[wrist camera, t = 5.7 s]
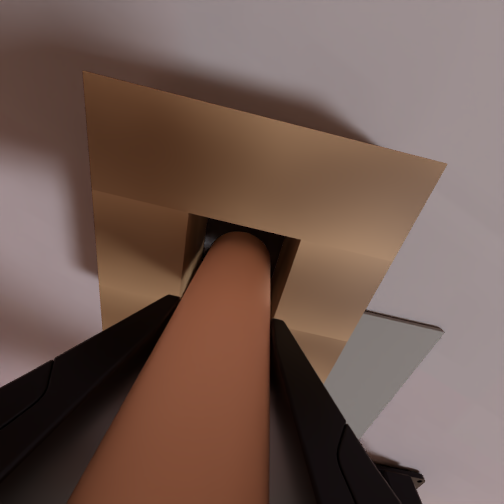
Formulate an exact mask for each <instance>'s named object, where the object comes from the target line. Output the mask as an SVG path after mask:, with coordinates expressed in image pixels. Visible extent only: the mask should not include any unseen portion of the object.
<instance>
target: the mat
mask: <svg viewBox="0 0 504 504" xmlns="http://www.w3.org/2000/svg"><path fill="white" fill-rule="evenodd" d="M444 333H445V332H444V331H443V330H442V329H439V328H435V327H431V326H426V325H422V324H418V323H413V322H409V321H405V320H400V319H396V318H392V317H388V316H383V315H379V314H375V313H370V312H366V311H364V313H363V315H362V317H361V318H360V320H359V322H358V324H357V326H356V327H355V329H354V331H353V333H352V334H351V336H350V338H349V340H348V341H347V343H346V345H345V347H344V349H343V350H342V352H341V354H340V356H339V357H338V359H337V361H336V363H335V365H334V366H333V368H332V370H331V372H330V373H329V375H328V377H327V379H326V381H325V382H324V386H325V387H326V389H327V391H328V392H329V394H330V395H331V397H332V399H333V400H334V402H335V403H336V405H337V407H338V408H339V410H340V411H341V413H342V415H343V416H344V418H345V420H346V424H349V426H350V427H351V429H352V430H353V432H354V434H355V435H356V437H357V438H358V440H359V439H360V438H361V437H362V435H363V434H364V433H365V432H366V430H367V429H368V428H369V427H370V425H371V424H372V423H373V422H374V420H375V419H376V418H377V417H378V415H379V414H380V413H381V412H382V410H383V409H384V408H385V407H386V405H387V404H388V403H389V402H390V400H391V399H392V398H393V397H394V395H395V394H396V393H397V392H398V390H399V389H400V388H401V387H402V385H403V384H404V383H405V382H406V380H407V379H408V378H409V377H410V375H411V374H412V373H413V372H414V370H415V369H416V368H417V367H418V365H419V364H420V363H421V362H422V360H423V359H424V358H425V357H426V355H427V354H428V353H429V352H430V350H431V349H432V348H433V347H434V345H435V344H436V343H437V342H438V340H439V339H440V338H441V337H442V335H443V334H444Z"/></svg>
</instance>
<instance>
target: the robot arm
mask: <svg viewBox="0 0 504 504" xmlns="http://www.w3.org/2000/svg"><path fill="white" fill-rule="evenodd" d="M180 301H181V298H180V297H179V296H175V295H170V294H168V295H166V296H164V297H162V298H160V299H159V300H157V301H155V302H153V303H152V304H150V305H148V306H146V307H144V308H143V309H141V310H139V311H137V312H136V313H134V314H132V315H130V316H128V317H127V318H125V319H123V320H121V321H120V322H118V323H116V324H114V325H112V326H111V327H109V328H107V329H105V330H104V331H102V332H100V333H98V334H96V335H95V336H93V337H91V338H89V339H88V340H86V341H84V342H82V343H80V344H79V345H77V346H75V347H73V348H71V349H70V350H68V351H66V352H64V353H63V354H61V355H59V356H57V357H55V359H54V361H53V360H50V361H48V362H46V363H45V364H43V365H41V366H39V367H37V368H36V369H34V370H32V371H30V372H28V373H27V374H25V375H23V376H21V377H19V378H17V379H15V380H14V381H12V382H10V383H8V384H6V385H4V386H2V387H0V504H66V503H67V501H68V500H69V498H70V496H71V494H72V492H73V491H74V489H75V487H76V485H77V484H78V482H79V480H80V478H81V476H82V475H83V473H84V471H85V469H86V468H87V466H88V464H89V462H90V460H91V459H92V457H93V455H94V453H95V452H96V450H97V448H98V446H99V445H100V443H101V441H102V439H103V437H104V436H105V434H106V432H107V430H108V429H109V427H110V425H111V423H112V421H113V420H114V418H115V416H116V414H117V413H118V411H119V409H120V407H121V405H122V404H123V402H124V400H125V398H126V397H127V395H128V393H129V391H130V389H131V388H132V386H133V384H134V382H135V381H136V379H137V377H138V375H139V373H140V372H141V370H142V368H143V366H144V365H145V363H146V361H147V359H148V357H149V356H150V354H151V352H152V350H153V349H154V347H155V345H156V343H157V341H158V340H159V338H160V336H161V334H162V333H163V331H164V329H165V327H166V325H167V324H168V322H169V320H170V318H171V317H172V315H173V313H174V311H175V309H176V308H177V306H178V304H179V302H180ZM424 482H425V479H424V477H423V475H422V474H419V473H414V472H409V471H404V470H400V469H395V468H390V467H385V466H381V465H376V464H374V463H373V462H372V460H371V459H370V457H369V455H368V454H367V452H366V451H365V449H364V448H363V446H362V445H361V443H360V442H359V440H358V438H357V437H356V435H355V434H354V432H353V430H352V429H351V427H350V426H349V424H346V420H345V418H344V416H343V415H342V413H341V411H340V410H339V408H338V407H337V405H336V403H335V402H334V400H333V399H332V397H331V395H330V394H329V392H328V391H327V389H326V387H325V386H324V384H323V383H322V381H321V379H320V378H319V376H318V375H317V373H316V371H315V370H314V368H313V367H312V365H311V363H310V362H309V360H308V359H307V357H306V355H305V354H304V352H303V351H302V349H301V347H300V346H299V344H298V343H297V341H296V339H295V338H294V336H293V335H292V333H291V331H290V330H289V328H288V327H287V325H286V323H285V322H284V321H283V320H280V319H276V318H272V319H271V320H270V452H269V504H422V502H421V499H420V497H419V495H418V492H417V490H416V489H417V488H418V487H420V486H421V485H422V484H423V483H424Z"/></svg>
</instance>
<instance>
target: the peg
mask: <svg viewBox="0 0 504 504" xmlns="http://www.w3.org/2000/svg"><path fill="white" fill-rule="evenodd" d="M269 452H270V254H269V251H268V249H267V247H266V246H265V244H264V243H263V242H262V241H261V240H260V239H259V238H257V237H256V236H254V235H252V234H249V233H246V232H239V231H236V232H229V233H226V234H224V235H222V236H220V237H219V238H217V239H216V240H215V241H214V243H213V244H212V246H211V247H210V249H209V251H208V253H207V254H206V256H205V258H204V260H203V262H202V263H201V265H200V267H199V269H198V270H197V272H196V274H195V276H194V278H193V279H192V281H191V283H190V285H189V286H188V288H187V290H186V292H185V293H184V295H183V297H182V299H181V301H180V302H179V304H178V306H177V308H176V309H175V311H174V313H173V315H172V317H171V318H170V320H169V322H168V324H167V325H166V327H165V329H164V331H163V333H162V334H161V336H160V338H159V340H158V341H157V343H156V345H155V347H154V349H153V350H152V352H151V354H150V356H149V357H148V359H147V361H146V363H145V365H144V366H143V368H142V370H141V372H140V373H139V375H138V377H137V379H136V381H135V382H134V384H133V386H132V388H131V389H130V391H129V393H128V395H127V397H126V398H125V400H124V402H123V404H122V405H121V407H120V409H119V411H118V413H117V414H116V416H115V418H114V420H113V421H112V423H111V425H110V427H109V429H108V430H107V432H106V434H105V436H104V437H103V439H102V441H101V443H100V445H99V446H98V448H97V450H96V452H95V453H94V455H93V457H92V459H91V460H90V462H89V464H88V466H87V468H86V469H85V471H84V473H83V475H82V476H81V478H80V480H79V482H78V484H77V485H76V487H75V489H74V491H73V492H72V494H71V496H70V498H69V500H68V501H67V503H66V504H269Z"/></svg>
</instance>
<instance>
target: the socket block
mask: <svg viewBox="0 0 504 504" xmlns="http://www.w3.org/2000/svg"><path fill="white" fill-rule="evenodd" d="M82 71H83V70H82ZM83 84H84V97H85V110H86V123H87V136H88V148H89V161H90V174H91V187H92V200H93V213H94V226H95V239H96V252H97V264H98V277H99V290H100V303H101V316H102V329H103V331H104V330H105V329H107V328H109V327H111V326H112V325H114V324H116V323H118V322H120V321H121V320H123V319H125V318H127V317H128V316H130V315H132V314H134V313H136V312H137V311H139V310H141V309H143V308H144V307H146V306H148V305H150V304H152V303H153V302H155V301H157V300H159V299H160V298H162V297H164V296H166V295H168V294H170V295H175V296H179V297H180V298H181V299H182V297H183V295H184V293H185V292H186V290H187V288H188V286H189V285H190V283H191V281H192V279H193V278H194V276H195V274H196V272H197V270H198V269H199V267H200V265H201V261H202V255H203V248H204V241H205V234H206V228H207V221H208V218H212V219H217V220H221V221H225V222H229V223H233V224H238V225H242V226H246V227H250V228H254V229H258V230H263V231H267V232H271V233H275V234H279V235H283V236H285V238H284V241H283V244H282V247H281V251H280V254H279V257H278V260H277V263H276V267H275V270H274V273H273V276H272V279H270V320H271V319H272V318H276V319H280V320H283V321H284V322H285V323H286V325H287V327H288V328H289V330H290V331H291V333H292V335H293V336H294V338H295V339H296V341H297V343H298V344H299V346H300V347H301V349H302V351H303V352H304V354H305V355H306V357H307V359H308V360H309V362H310V363H311V365H312V367H313V368H314V370H315V371H316V373H317V375H318V376H319V378H320V379H321V381H322V383H323V384H324V382H325V381H326V379H327V377H328V375H329V373H330V372H331V370H332V368H333V366H334V365H335V363H336V361H337V359H338V357H339V356H340V354H341V352H342V350H343V349H344V347H345V345H346V343H347V341H348V340H349V338H350V336H351V334H352V333H353V331H354V329H355V327H356V326H357V324H358V322H359V320H360V318H361V317H362V315H363V313H364V311H365V310H366V308H367V306H368V304H369V302H370V301H371V299H372V297H373V295H374V294H375V292H376V290H377V288H378V286H379V285H380V283H381V281H382V279H383V278H384V276H385V274H386V272H387V270H388V269H389V267H390V265H391V263H392V262H393V260H394V258H395V256H396V255H397V253H398V251H399V249H400V247H401V246H402V244H403V242H404V240H405V239H406V237H407V235H408V233H409V231H410V230H411V228H412V226H413V224H414V223H415V221H416V219H417V217H418V215H419V214H420V212H421V210H422V208H423V207H424V205H425V203H426V201H427V200H428V198H429V196H430V194H431V192H432V191H433V189H434V187H435V185H436V184H437V182H438V180H439V178H440V176H441V175H442V173H443V171H444V169H445V168H446V166H447V164H446V163H443V162H439V161H435V160H431V159H427V158H423V157H419V156H415V155H411V154H407V153H403V152H400V151H396V150H392V149H388V148H384V147H380V146H376V145H372V144H368V143H364V142H360V141H357V140H353V139H349V138H345V137H341V136H337V135H333V134H329V133H325V132H321V131H317V130H314V129H310V128H306V127H302V126H298V125H294V124H290V123H286V122H282V121H278V120H274V119H271V118H267V117H263V116H259V115H255V114H251V113H247V112H243V111H239V110H235V109H232V108H228V107H224V106H220V105H216V104H212V103H208V102H204V101H200V100H196V99H192V98H189V97H185V96H181V95H177V94H173V93H169V92H165V91H161V90H157V89H153V88H149V87H146V86H142V85H138V84H134V83H130V82H126V81H122V80H118V79H114V78H110V77H106V76H103V75H99V74H95V73H91V72H87V71H83Z"/></svg>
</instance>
